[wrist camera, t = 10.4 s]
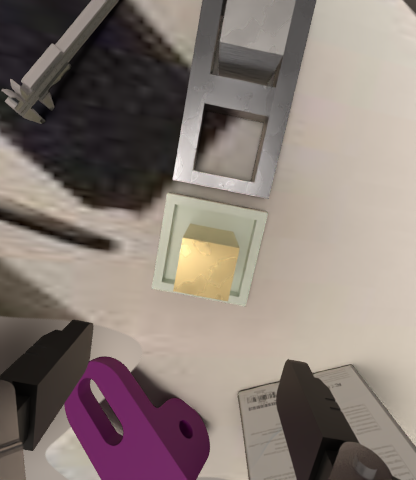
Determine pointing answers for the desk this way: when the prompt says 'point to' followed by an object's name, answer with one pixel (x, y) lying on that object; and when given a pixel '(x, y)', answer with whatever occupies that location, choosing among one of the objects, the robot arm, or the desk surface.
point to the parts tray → (215, 216)
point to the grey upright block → (253, 38)
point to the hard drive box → (355, 411)
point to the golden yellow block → (207, 262)
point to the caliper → (55, 62)
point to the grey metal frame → (240, 101)
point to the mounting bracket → (135, 428)
